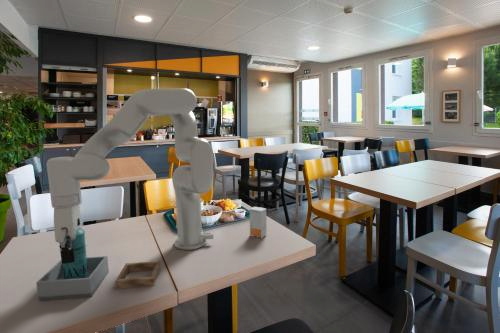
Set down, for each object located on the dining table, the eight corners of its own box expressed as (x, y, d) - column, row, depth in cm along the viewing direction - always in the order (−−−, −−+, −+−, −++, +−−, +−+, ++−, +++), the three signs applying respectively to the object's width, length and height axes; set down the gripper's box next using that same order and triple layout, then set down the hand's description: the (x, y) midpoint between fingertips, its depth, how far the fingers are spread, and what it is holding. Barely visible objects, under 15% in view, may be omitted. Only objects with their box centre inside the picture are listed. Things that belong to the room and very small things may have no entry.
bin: (108, 271, 99) (107, 256, 98) (91, 297, 85) (89, 278, 84) (63, 274, 97) (61, 258, 96) (38, 301, 84) (36, 282, 83)
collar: (160, 267, 101) (160, 261, 101) (153, 285, 90) (153, 278, 90) (126, 270, 100) (126, 263, 100) (115, 288, 89) (115, 281, 89)
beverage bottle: (58, 286, 88) (52, 220, 85) (77, 275, 95) (72, 214, 92) (75, 289, 86) (70, 223, 84) (93, 278, 93) (89, 216, 90)
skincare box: (249, 236, 127) (249, 208, 125) (254, 232, 131) (254, 206, 129) (261, 238, 124) (261, 211, 122) (266, 235, 127) (266, 208, 125)
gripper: (61, 193, 94) (67, 245, 97) (40, 209, 78) (48, 271, 80) (87, 191, 96) (93, 242, 99) (73, 206, 80) (79, 266, 82)
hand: (73, 255), depth 90 cm, fingers open, 9 cm apart
